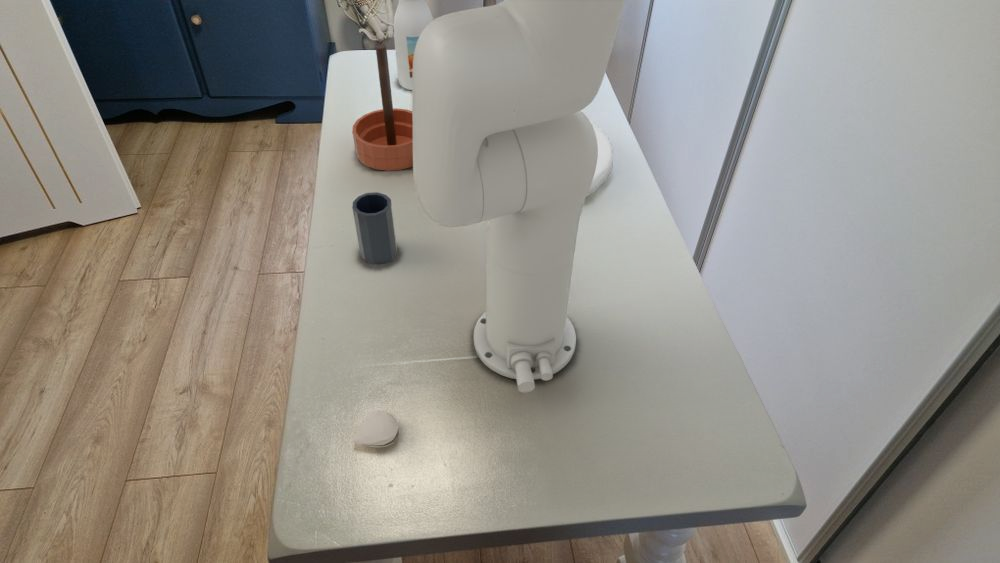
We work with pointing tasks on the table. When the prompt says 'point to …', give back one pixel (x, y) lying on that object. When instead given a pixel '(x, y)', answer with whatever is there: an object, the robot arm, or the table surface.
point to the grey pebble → (377, 430)
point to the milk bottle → (408, 35)
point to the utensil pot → (375, 228)
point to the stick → (386, 94)
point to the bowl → (384, 141)
